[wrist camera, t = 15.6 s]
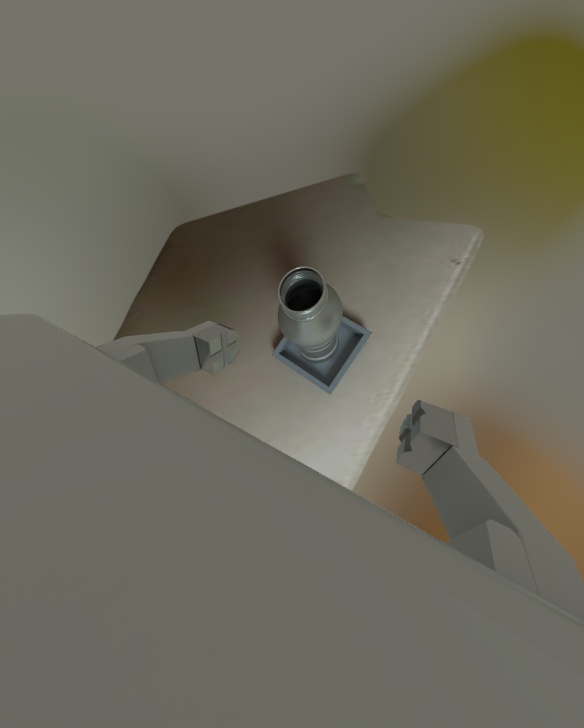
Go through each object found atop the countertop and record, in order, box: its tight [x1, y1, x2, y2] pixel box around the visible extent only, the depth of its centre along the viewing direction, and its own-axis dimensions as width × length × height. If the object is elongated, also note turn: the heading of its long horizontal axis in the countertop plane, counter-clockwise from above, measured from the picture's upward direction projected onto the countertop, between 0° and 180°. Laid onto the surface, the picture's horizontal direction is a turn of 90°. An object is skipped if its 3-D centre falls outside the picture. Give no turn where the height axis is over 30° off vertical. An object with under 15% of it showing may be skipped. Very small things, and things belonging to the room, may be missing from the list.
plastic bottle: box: [278, 266, 343, 363], centre depth 25 cm, size 6×7×20 cm
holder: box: [272, 316, 372, 394], centre depth 34 cm, size 11×11×3 cm
